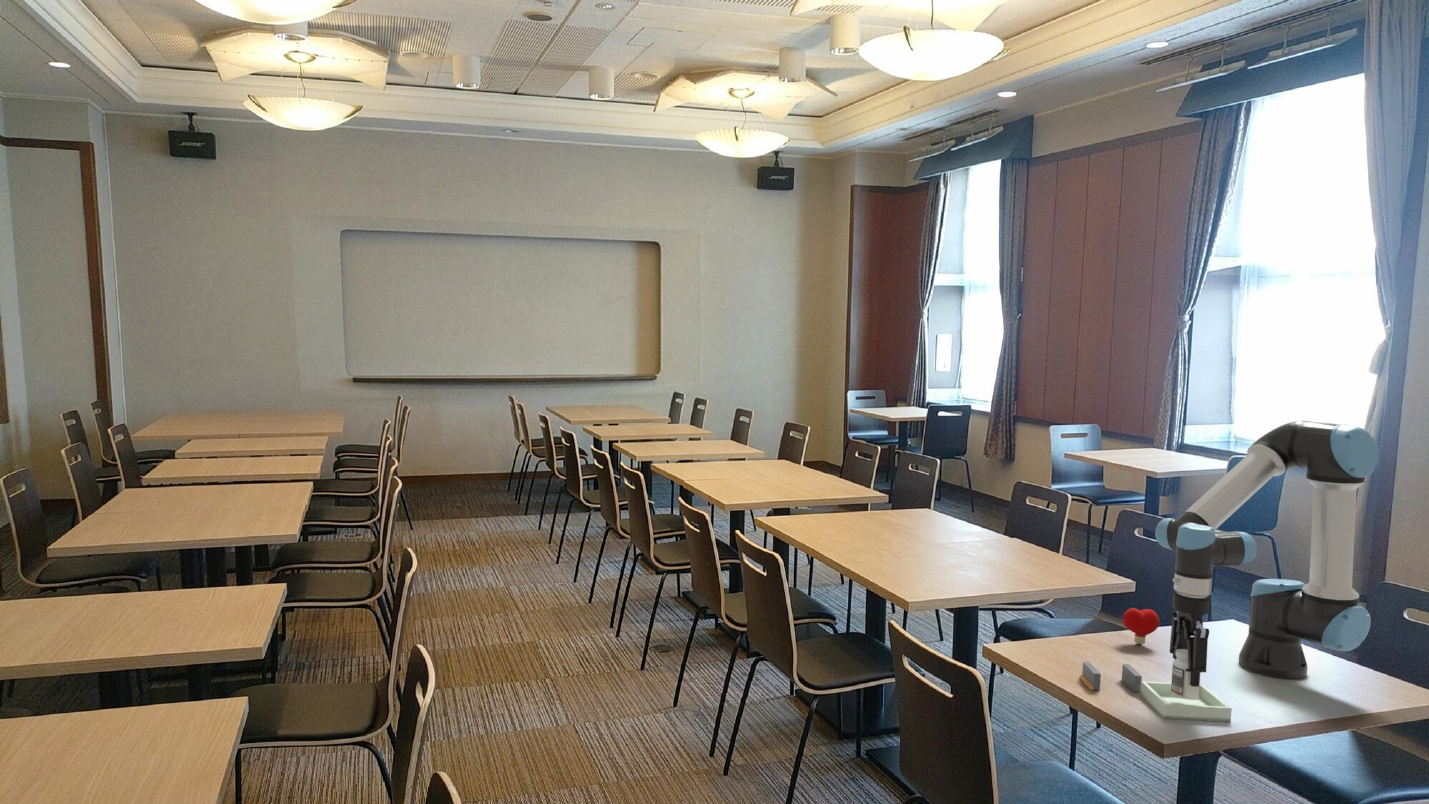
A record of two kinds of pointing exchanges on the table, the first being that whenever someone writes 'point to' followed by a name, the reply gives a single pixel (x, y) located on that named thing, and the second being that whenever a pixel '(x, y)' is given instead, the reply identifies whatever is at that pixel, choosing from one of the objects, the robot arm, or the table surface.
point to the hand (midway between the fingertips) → (1185, 693)
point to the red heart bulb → (1141, 623)
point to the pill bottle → (1179, 673)
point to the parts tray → (1185, 703)
